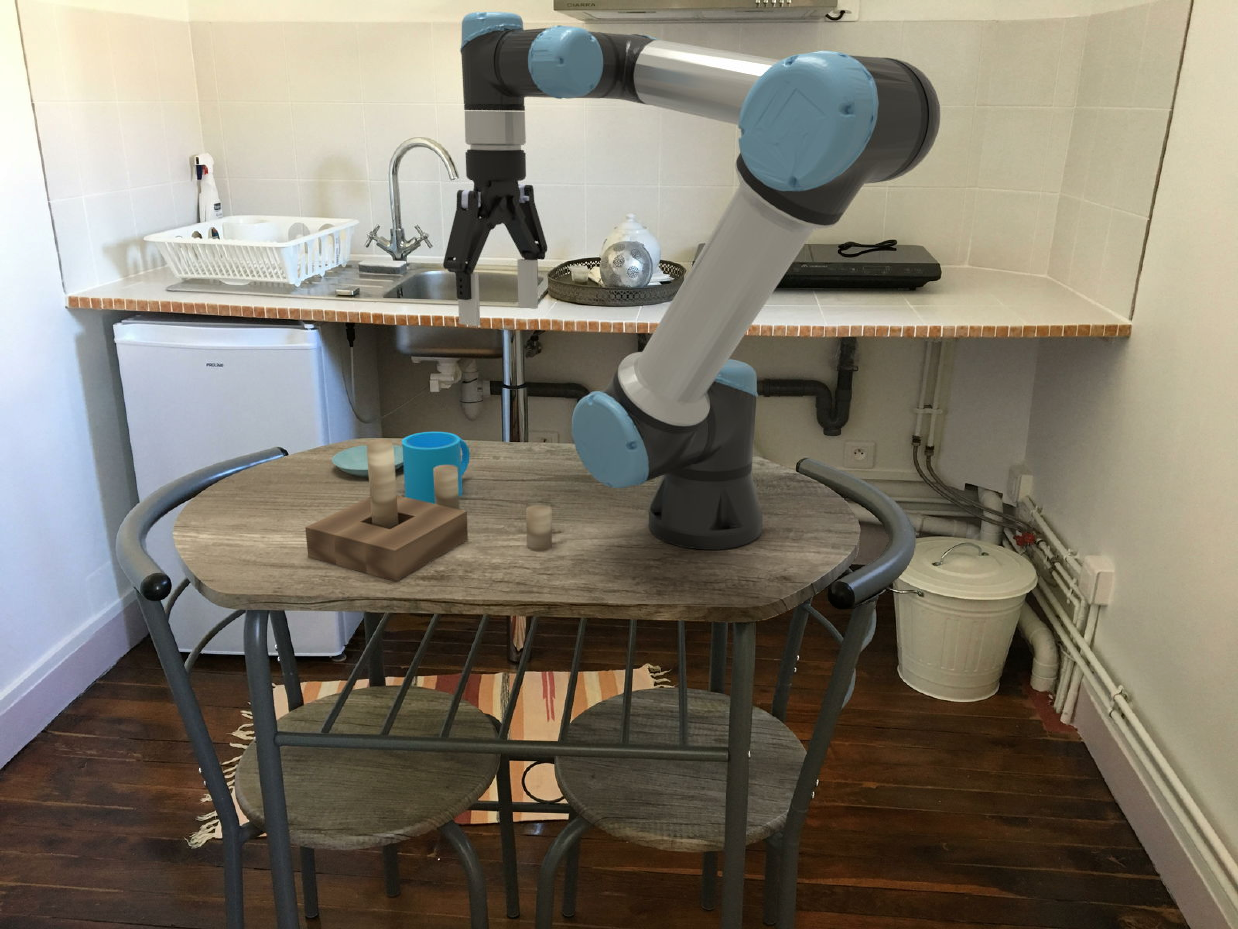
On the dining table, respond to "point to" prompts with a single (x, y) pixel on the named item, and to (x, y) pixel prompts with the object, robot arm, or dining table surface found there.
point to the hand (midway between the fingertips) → (500, 315)
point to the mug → (431, 461)
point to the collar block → (387, 538)
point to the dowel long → (382, 483)
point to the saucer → (361, 460)
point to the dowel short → (539, 527)
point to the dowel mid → (446, 486)
